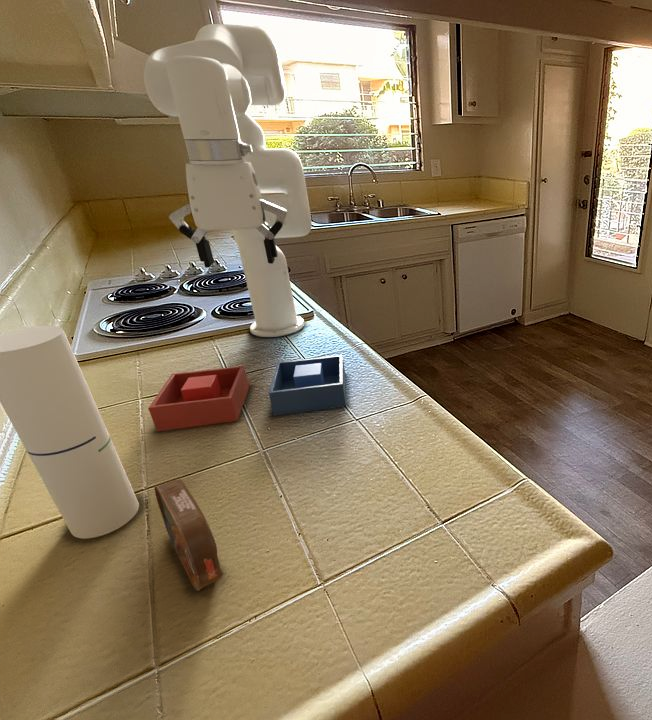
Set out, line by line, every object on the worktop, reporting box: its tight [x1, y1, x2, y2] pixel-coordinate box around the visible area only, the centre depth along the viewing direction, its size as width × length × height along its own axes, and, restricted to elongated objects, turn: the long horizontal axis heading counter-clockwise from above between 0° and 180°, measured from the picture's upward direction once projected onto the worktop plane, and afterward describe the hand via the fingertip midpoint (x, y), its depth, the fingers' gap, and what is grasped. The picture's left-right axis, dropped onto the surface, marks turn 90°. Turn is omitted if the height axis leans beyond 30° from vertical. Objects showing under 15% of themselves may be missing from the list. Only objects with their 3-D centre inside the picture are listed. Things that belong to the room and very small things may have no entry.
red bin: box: [147, 365, 250, 432], centre depth 82 cm, size 12×12×5 cm
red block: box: [181, 375, 223, 402], centre depth 81 cm, size 5×5×5 cm
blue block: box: [294, 363, 325, 388], centre depth 86 cm, size 5×5×5 cm
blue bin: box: [268, 354, 347, 417], centre depth 86 cm, size 12×12×5 cm
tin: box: [153, 478, 224, 592], centre depth 52 cm, size 15×3×8 cm, turn 45°
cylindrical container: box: [0, 324, 140, 539], centre depth 54 cm, size 7×7×25 cm
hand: (241, 263), depth 78 cm, fingers open, 9 cm apart
